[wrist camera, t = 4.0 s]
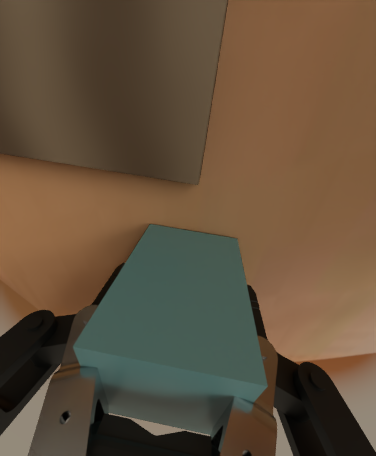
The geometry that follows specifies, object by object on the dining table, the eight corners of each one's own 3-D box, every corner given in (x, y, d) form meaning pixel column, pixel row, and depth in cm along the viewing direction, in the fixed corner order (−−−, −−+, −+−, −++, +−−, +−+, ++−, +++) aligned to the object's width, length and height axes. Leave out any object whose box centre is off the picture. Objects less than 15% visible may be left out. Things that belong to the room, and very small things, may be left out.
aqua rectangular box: (237, 238, 11) (267, 386, 5) (218, 296, 14) (222, 437, 8) (150, 223, 11) (72, 346, 5) (149, 284, 14) (98, 410, 8)
